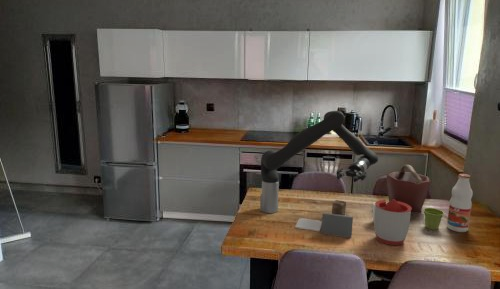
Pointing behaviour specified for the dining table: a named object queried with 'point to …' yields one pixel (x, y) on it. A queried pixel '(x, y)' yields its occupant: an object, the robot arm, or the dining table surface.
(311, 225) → the grey pad
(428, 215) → the plant pot
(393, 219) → the citrus juicer
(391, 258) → the dining table surface
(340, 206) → the walnut block
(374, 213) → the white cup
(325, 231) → the charcoal board
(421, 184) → the bucket
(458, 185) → the fruit juice
